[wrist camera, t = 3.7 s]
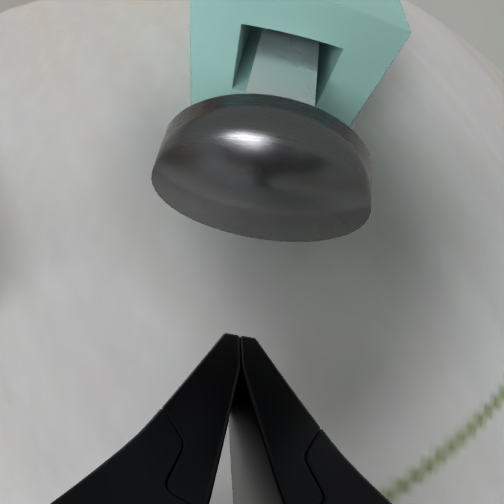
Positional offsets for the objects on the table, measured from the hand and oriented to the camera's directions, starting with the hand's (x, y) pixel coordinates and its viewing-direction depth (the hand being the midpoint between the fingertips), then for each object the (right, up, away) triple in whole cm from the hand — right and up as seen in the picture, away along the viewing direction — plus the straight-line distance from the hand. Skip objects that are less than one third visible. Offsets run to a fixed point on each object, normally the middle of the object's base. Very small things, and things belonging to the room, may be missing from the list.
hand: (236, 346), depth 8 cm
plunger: (+1, +9, +7) cm, 11 cm away
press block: (+2, +14, +12) cm, 18 cm away
